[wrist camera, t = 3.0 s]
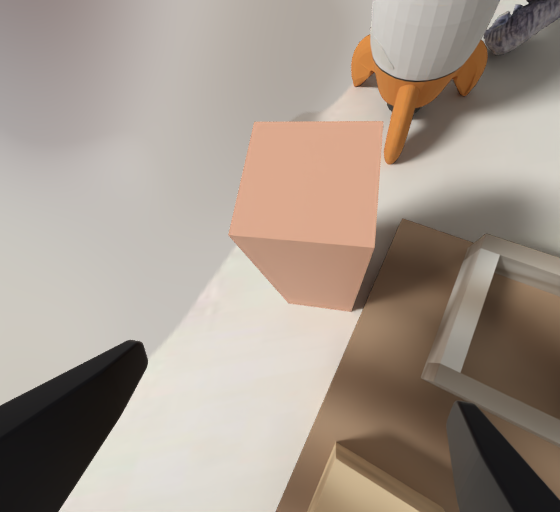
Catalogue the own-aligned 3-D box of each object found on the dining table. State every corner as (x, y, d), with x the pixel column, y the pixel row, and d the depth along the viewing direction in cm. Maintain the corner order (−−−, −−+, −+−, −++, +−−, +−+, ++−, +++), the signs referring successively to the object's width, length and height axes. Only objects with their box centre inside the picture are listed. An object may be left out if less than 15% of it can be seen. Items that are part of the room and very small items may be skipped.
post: (351, 311, 20) (374, 247, 8) (288, 303, 21) (228, 235, 9) (356, 251, 22) (383, 121, 10) (297, 246, 23) (254, 121, 11)
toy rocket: (468, 81, 26) (681, -197, 11) (434, 191, 25) (615, 50, 10) (356, 55, 27) (412, -224, 12) (320, 159, 26) (335, -7, 12)
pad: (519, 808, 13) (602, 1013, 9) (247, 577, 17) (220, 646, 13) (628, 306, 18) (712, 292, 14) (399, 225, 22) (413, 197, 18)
